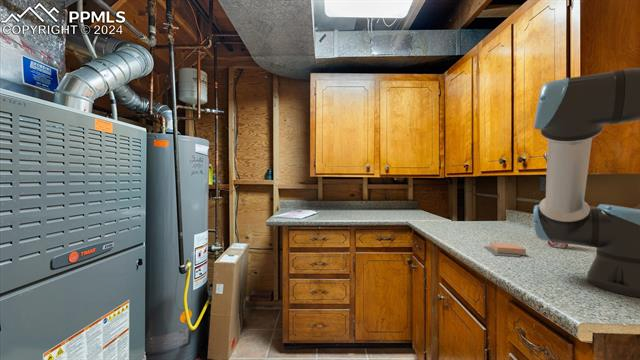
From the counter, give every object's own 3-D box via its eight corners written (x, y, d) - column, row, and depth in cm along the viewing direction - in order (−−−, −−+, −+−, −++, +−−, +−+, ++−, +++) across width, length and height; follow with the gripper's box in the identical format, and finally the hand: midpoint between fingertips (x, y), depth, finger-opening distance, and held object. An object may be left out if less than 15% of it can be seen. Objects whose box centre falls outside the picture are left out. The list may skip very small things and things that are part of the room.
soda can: (569, 250, 116) (570, 222, 115) (547, 247, 120) (548, 220, 120) (567, 246, 122) (568, 219, 121) (546, 243, 126) (547, 217, 125)
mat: (521, 257, 106) (521, 256, 105) (495, 255, 107) (495, 254, 107) (507, 248, 117) (507, 247, 117) (483, 247, 119) (483, 246, 119)
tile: (525, 249, 107) (497, 247, 109) (525, 255, 107) (497, 253, 109) (516, 243, 115) (489, 242, 117) (515, 249, 115) (489, 247, 117)
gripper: (576, 137, 105) (573, 197, 106) (538, 136, 107) (536, 196, 108) (592, 134, 98) (589, 199, 98) (552, 133, 100) (549, 198, 100)
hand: (562, 197), depth 103 cm, fingers closed
